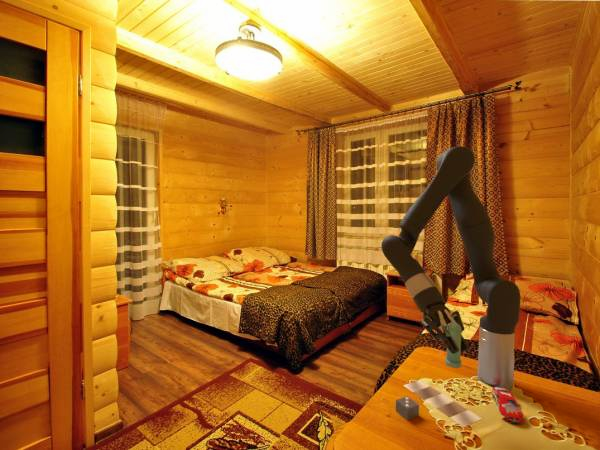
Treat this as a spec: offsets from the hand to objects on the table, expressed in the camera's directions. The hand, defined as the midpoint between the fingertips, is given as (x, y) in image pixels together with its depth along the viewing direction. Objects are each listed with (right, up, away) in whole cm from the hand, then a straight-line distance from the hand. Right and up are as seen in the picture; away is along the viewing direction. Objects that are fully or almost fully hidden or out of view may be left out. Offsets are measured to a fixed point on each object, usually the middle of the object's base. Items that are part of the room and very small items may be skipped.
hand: (460, 350), depth 79 cm
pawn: (-1, -4, +2) cm, 5 cm away
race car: (+15, -18, +5) cm, 24 cm away
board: (-3, -17, +6) cm, 19 cm away
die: (-14, -17, +1) cm, 22 cm away
